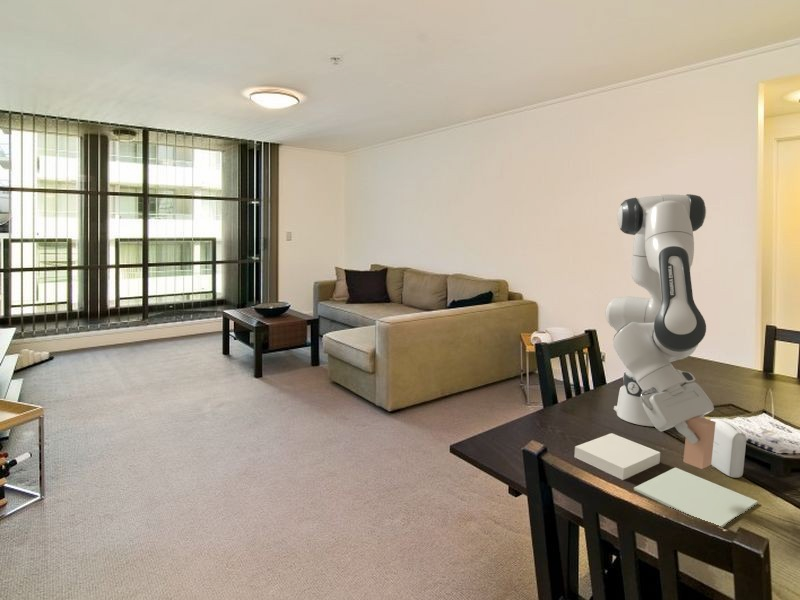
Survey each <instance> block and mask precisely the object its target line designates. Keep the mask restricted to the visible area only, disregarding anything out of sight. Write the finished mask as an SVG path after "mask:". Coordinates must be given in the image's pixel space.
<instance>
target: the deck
mask: <svg viewBox="0 0 800 600" xmlns="http://www.w3.org/2000/svg"><path fill="white" fill-rule="evenodd" d="M573 458H575V459H578V460H579V461H581V462H584V463H586V464H588V465H591V466H592V467H595V468H597V469H599V470H601V471H603V472H604V473H607V474H609V475H610V476H614V477H616V478H617V479H620V480H622V481H624V480H627V479H629V478H631V477H633V476H635V475H637V474H640V473H642V472H643V471H646V470H648V469H650V468H653V467H655V466H657V465H659V464H660V462H661V461H660V460H661V452H660V451H658V450H655V449H653V448H651V447H648V446H645V445H643V444H640V443H637V442H635V441H633V440H630V439H628V438H625V437H622V436H620V435H619V434H618V435H617V434H615V433H612V432H611V433H608V434H605V435H603V436H600V437H597V438H595V439H592V440H590V441H586V442H584V443H581V444H578V445H576V446H574V457H573Z"/></svg>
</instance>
